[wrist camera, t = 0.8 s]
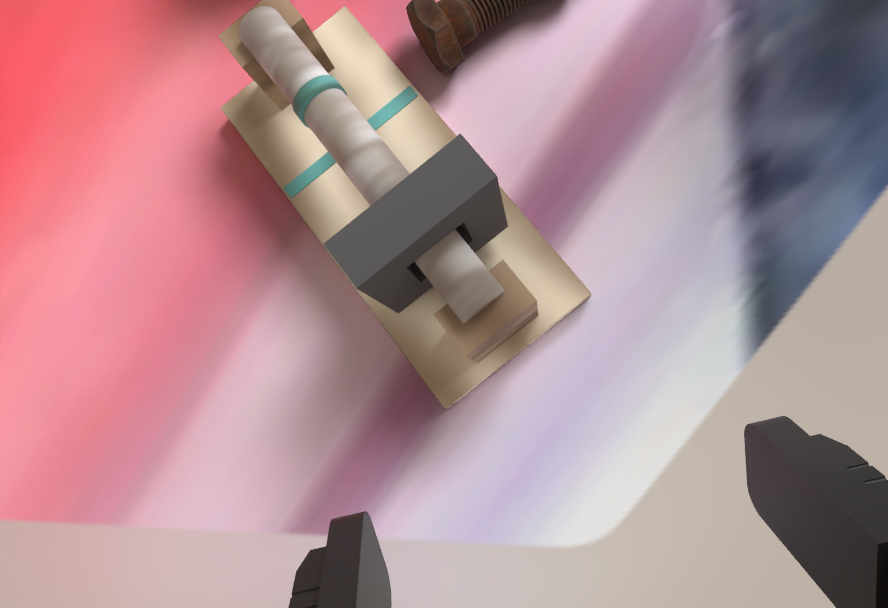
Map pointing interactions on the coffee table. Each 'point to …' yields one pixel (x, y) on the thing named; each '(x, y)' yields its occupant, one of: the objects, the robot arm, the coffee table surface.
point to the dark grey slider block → (419, 224)
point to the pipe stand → (374, 174)
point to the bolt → (455, 25)
